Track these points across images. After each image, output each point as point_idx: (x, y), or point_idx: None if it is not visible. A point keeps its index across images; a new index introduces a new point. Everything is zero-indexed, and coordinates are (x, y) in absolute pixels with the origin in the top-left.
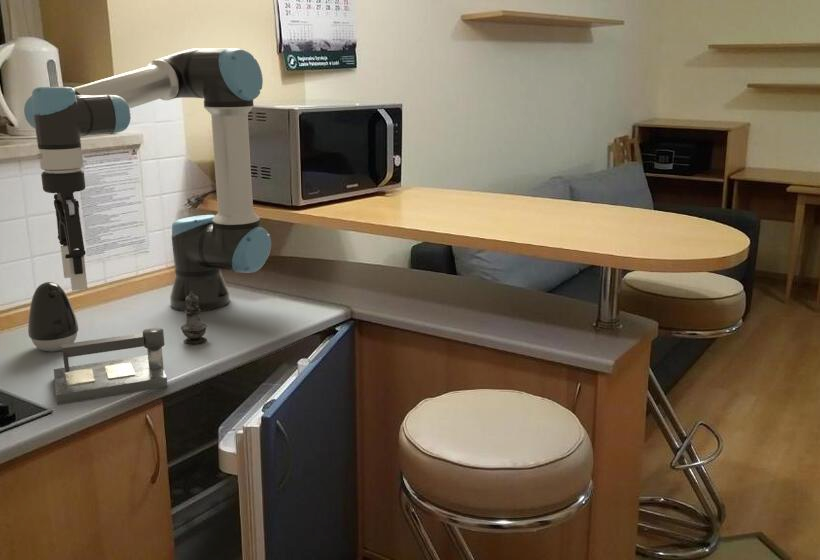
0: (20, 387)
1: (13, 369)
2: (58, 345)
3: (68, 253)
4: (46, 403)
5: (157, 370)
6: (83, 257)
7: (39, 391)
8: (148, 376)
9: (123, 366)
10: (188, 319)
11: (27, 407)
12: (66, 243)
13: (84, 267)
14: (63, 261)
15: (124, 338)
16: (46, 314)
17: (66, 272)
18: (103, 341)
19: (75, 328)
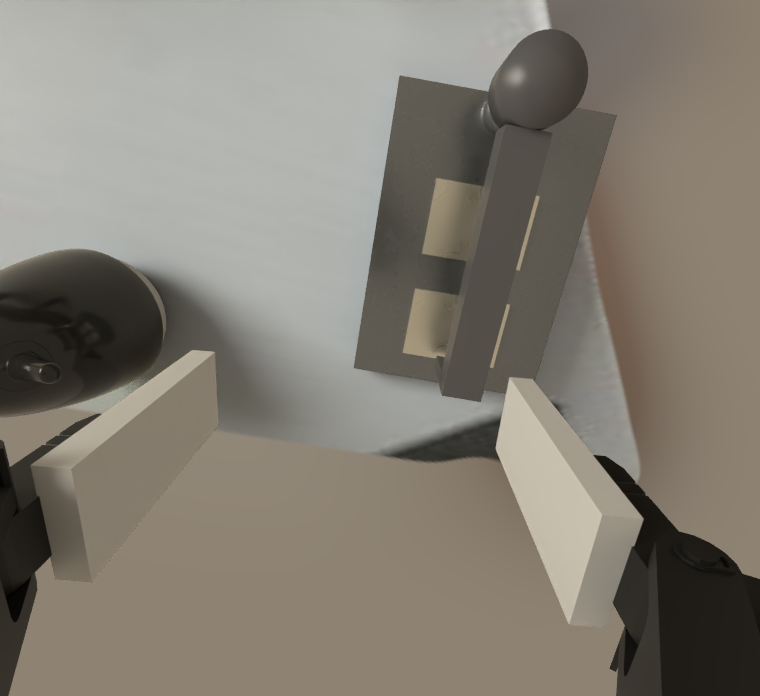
0: (367, 429)
1: (242, 421)
2: (165, 316)
3: (130, 484)
4: (496, 403)
5: None
6: (634, 513)
7: (416, 401)
8: (571, 164)
9: (457, 207)
10: None
11: (491, 437)
12: (31, 550)
13: (589, 456)
14: (167, 483)
15: (520, 205)
16: (102, 371)
17: (203, 429)
18: (503, 279)
19: (117, 267)
